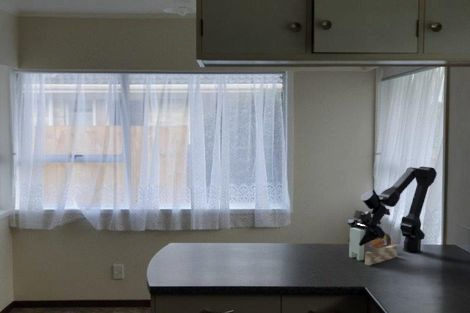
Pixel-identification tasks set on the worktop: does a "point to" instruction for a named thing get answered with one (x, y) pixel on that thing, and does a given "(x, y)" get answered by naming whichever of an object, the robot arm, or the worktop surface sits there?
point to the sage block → (356, 243)
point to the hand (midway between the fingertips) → (354, 243)
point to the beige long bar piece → (381, 254)
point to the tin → (380, 242)
